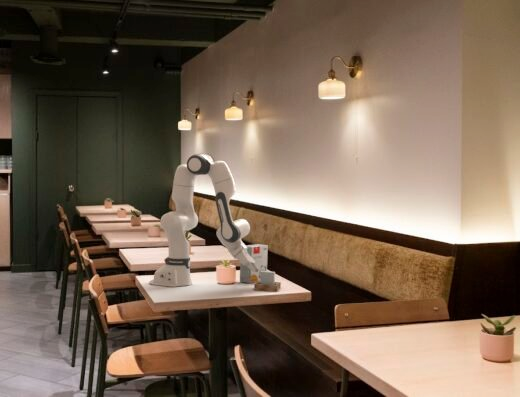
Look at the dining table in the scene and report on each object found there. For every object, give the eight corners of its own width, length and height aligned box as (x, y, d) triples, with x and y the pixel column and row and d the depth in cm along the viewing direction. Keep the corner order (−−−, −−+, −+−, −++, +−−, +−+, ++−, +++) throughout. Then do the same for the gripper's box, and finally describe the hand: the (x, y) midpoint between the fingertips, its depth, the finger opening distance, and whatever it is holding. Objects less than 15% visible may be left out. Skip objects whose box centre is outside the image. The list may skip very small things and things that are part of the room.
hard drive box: (250, 283, 347) (251, 247, 346) (239, 282, 352) (240, 245, 351) (267, 280, 360) (268, 244, 359) (256, 278, 364) (257, 243, 363)
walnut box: (254, 289, 330) (254, 284, 330) (258, 286, 340) (258, 280, 340) (277, 291, 328) (277, 285, 327) (280, 287, 337) (280, 282, 337)
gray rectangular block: (260, 289, 333) (260, 271, 333) (261, 288, 336) (261, 271, 336) (273, 290, 332) (273, 272, 331) (274, 288, 335) (275, 271, 334)
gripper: (238, 255, 345) (255, 275, 342) (230, 254, 325) (247, 275, 322) (247, 248, 345) (264, 267, 342) (239, 246, 325) (257, 266, 322)
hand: (256, 271), depth 332 cm, fingers open, 8 cm apart
